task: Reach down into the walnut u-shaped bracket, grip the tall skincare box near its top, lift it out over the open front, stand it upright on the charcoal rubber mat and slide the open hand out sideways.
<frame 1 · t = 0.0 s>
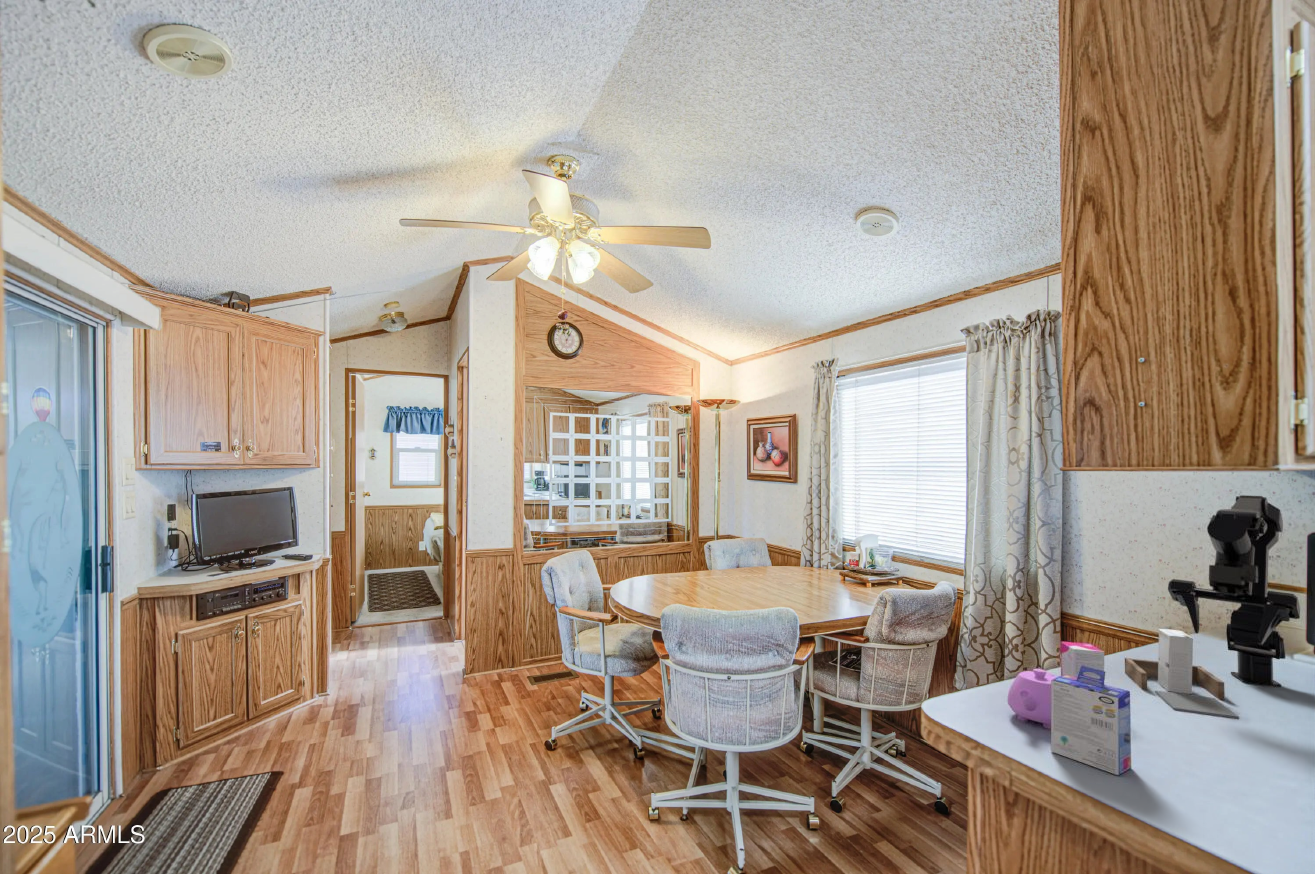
hand: (1227, 637, 118), 15 cm above the kitchen counter, tool tilted 35°, fingers open, 9 cm apart
teapot: (1038, 722, 114), on the kitchen counter
ink cartridge box: (1090, 761, 99), on the kitchen counter
charcoal mat: (1194, 704, 123), on the kitchen counter
skincare box: (1175, 689, 132), on the kitchen counter
supplement box: (1082, 703, 123), on the kitchen counter
walnut u-shaped bracket: (1175, 688, 132), on the kitchen counter
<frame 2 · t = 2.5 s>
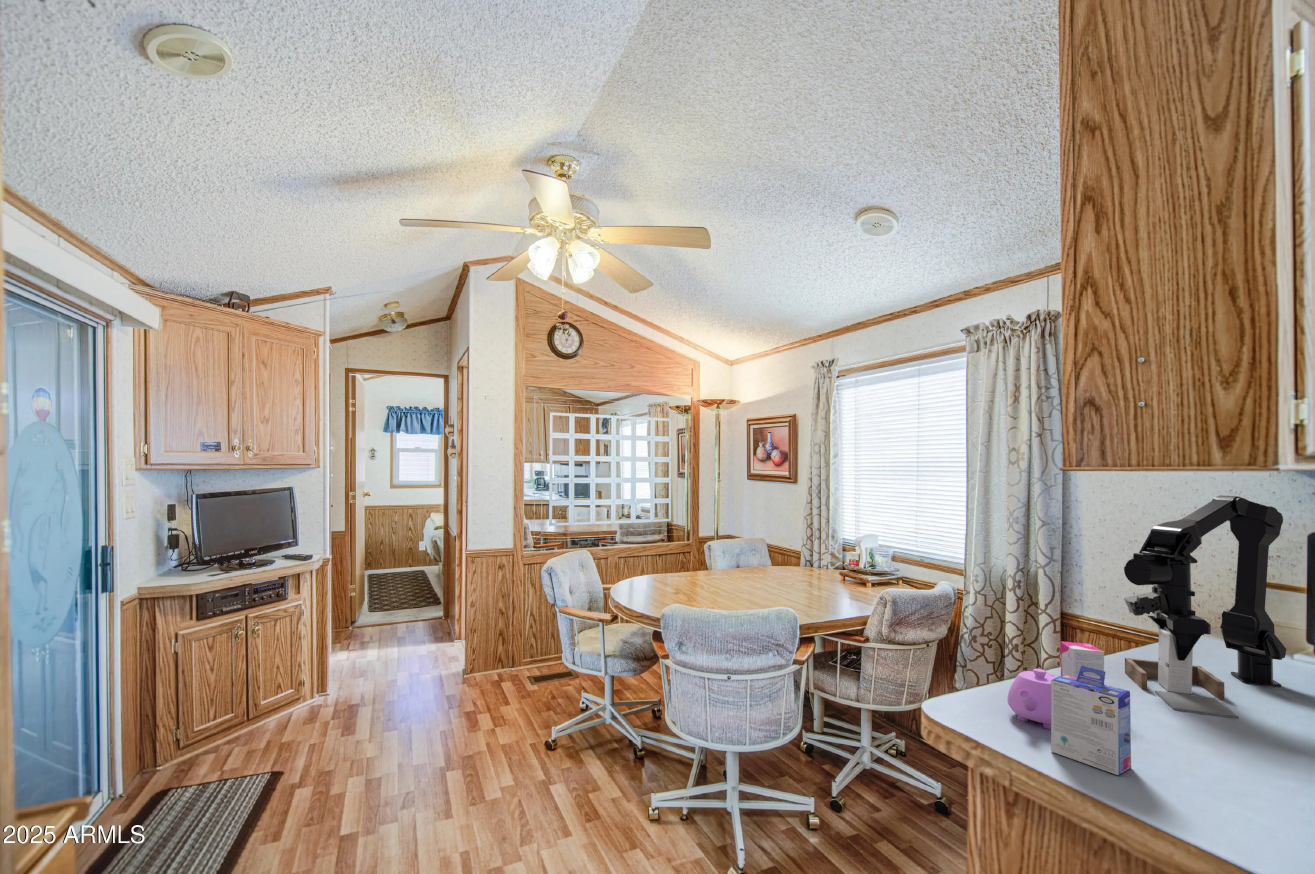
hand: (1175, 655, 132), 7 cm above the kitchen counter, tool pointing down, fingers closed on skincare box, 6 cm apart
skincare box: (1175, 689, 132), on the kitchen counter, touching gripper
everything else where it was.
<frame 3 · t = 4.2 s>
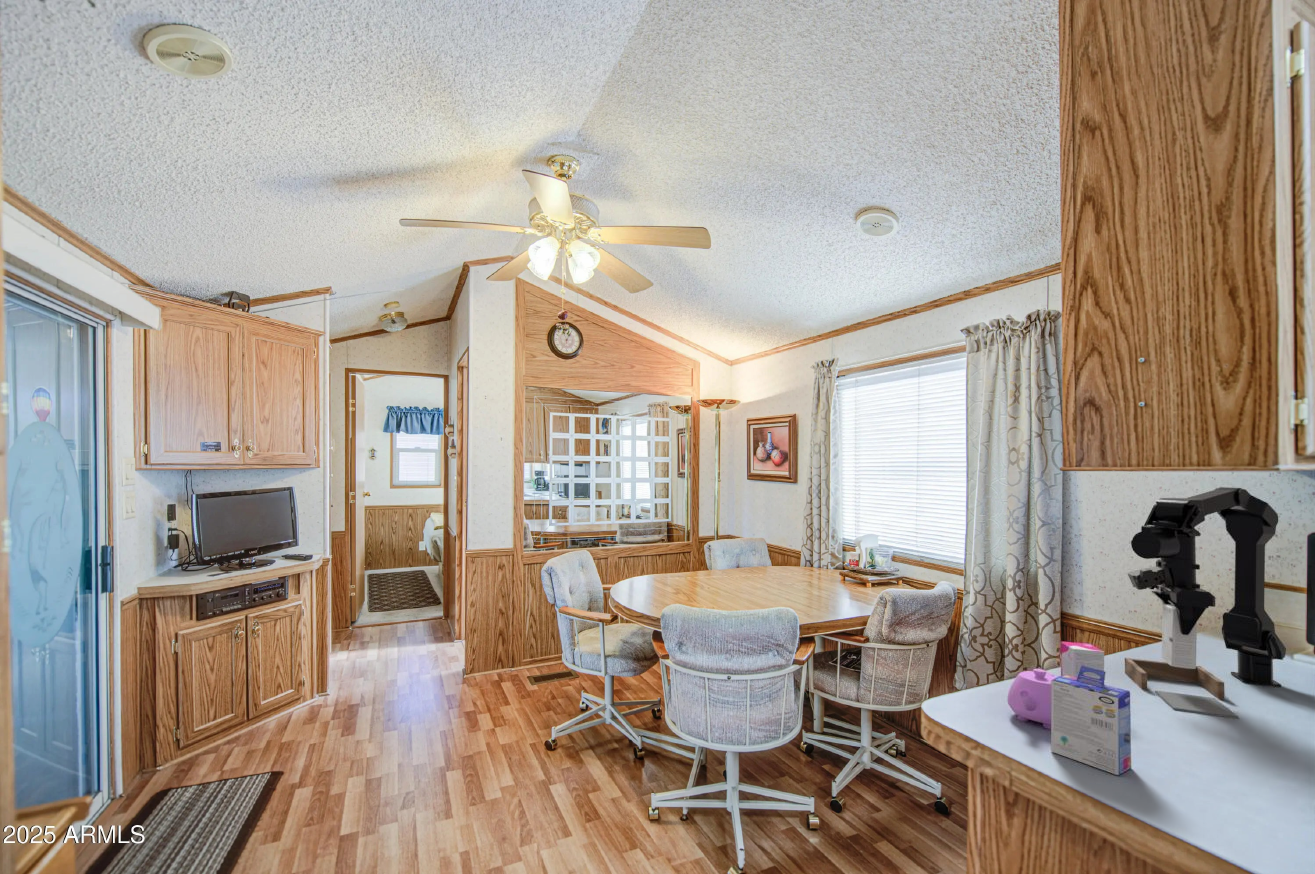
hand: (1179, 630, 129), 13 cm above the kitchen counter, tool pointing down, fingers closed on skincare box, 6 cm apart
skincare box: (1179, 665, 129), point 6 cm above the kitchen counter, touching gripper
everything else where it was.
when the fingers open (8 cm above the kitchen counter, at t = 6.3 s): skincare box stays where it is, resting on charcoal mat.
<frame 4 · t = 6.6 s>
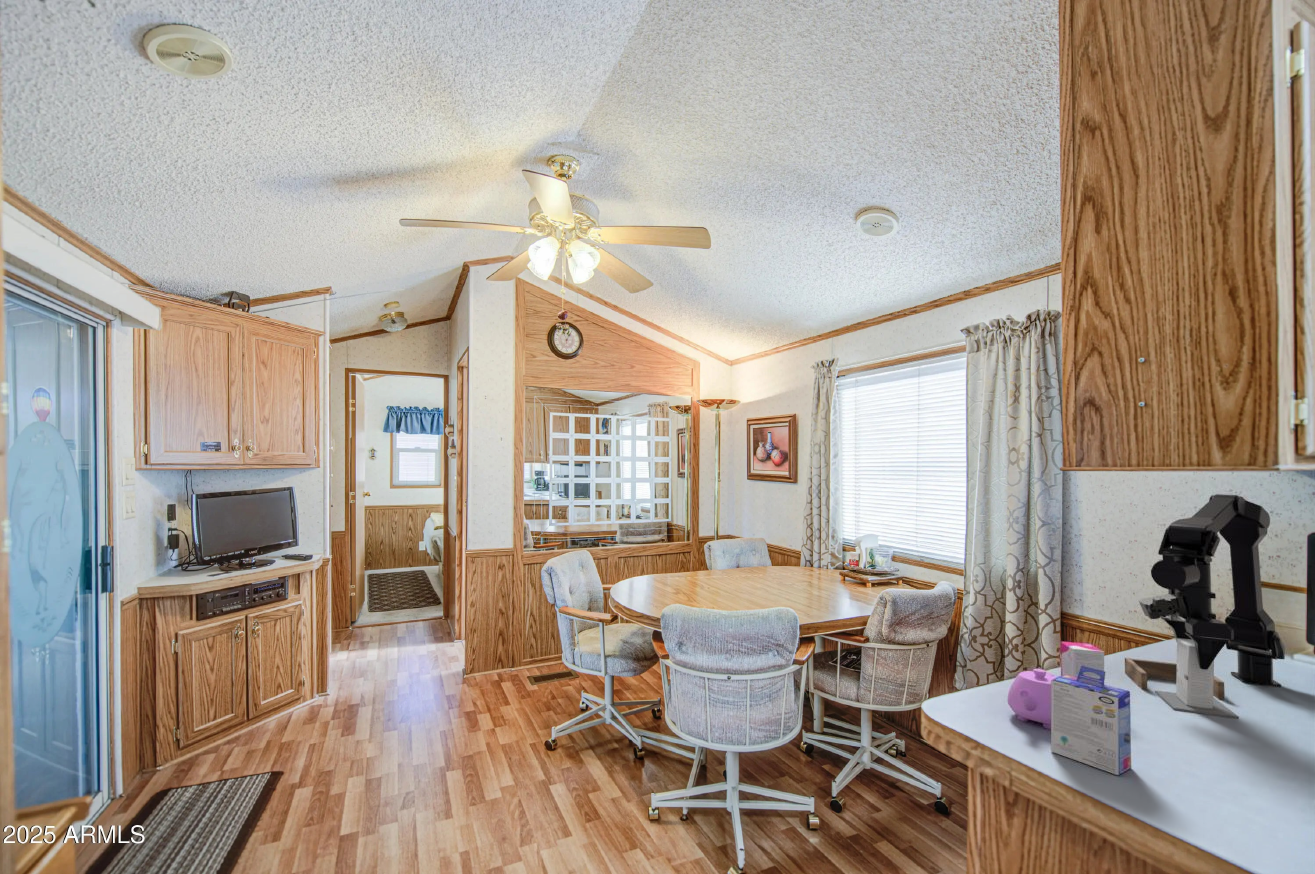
hand: (1193, 662, 123), 8 cm above the kitchen counter, tool pointing down, fingers open, 9 cm apart
skincare box: (1195, 703, 123), resting on charcoal mat
everything else where it was.
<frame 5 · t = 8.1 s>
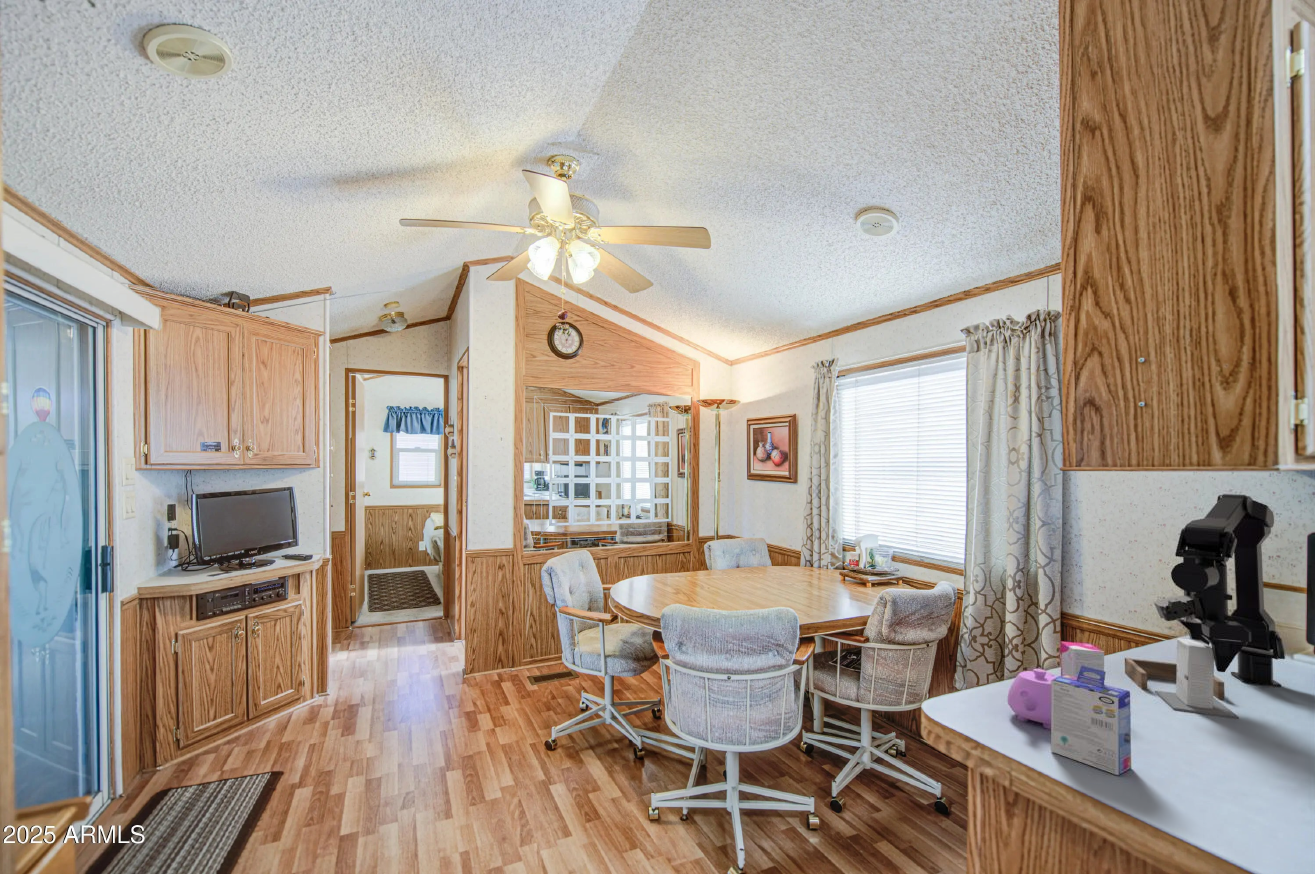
hand: (1210, 664, 122), 8 cm above the kitchen counter, tool pointing down, fingers open, 9 cm apart
nothing on the kitchen counter moved.
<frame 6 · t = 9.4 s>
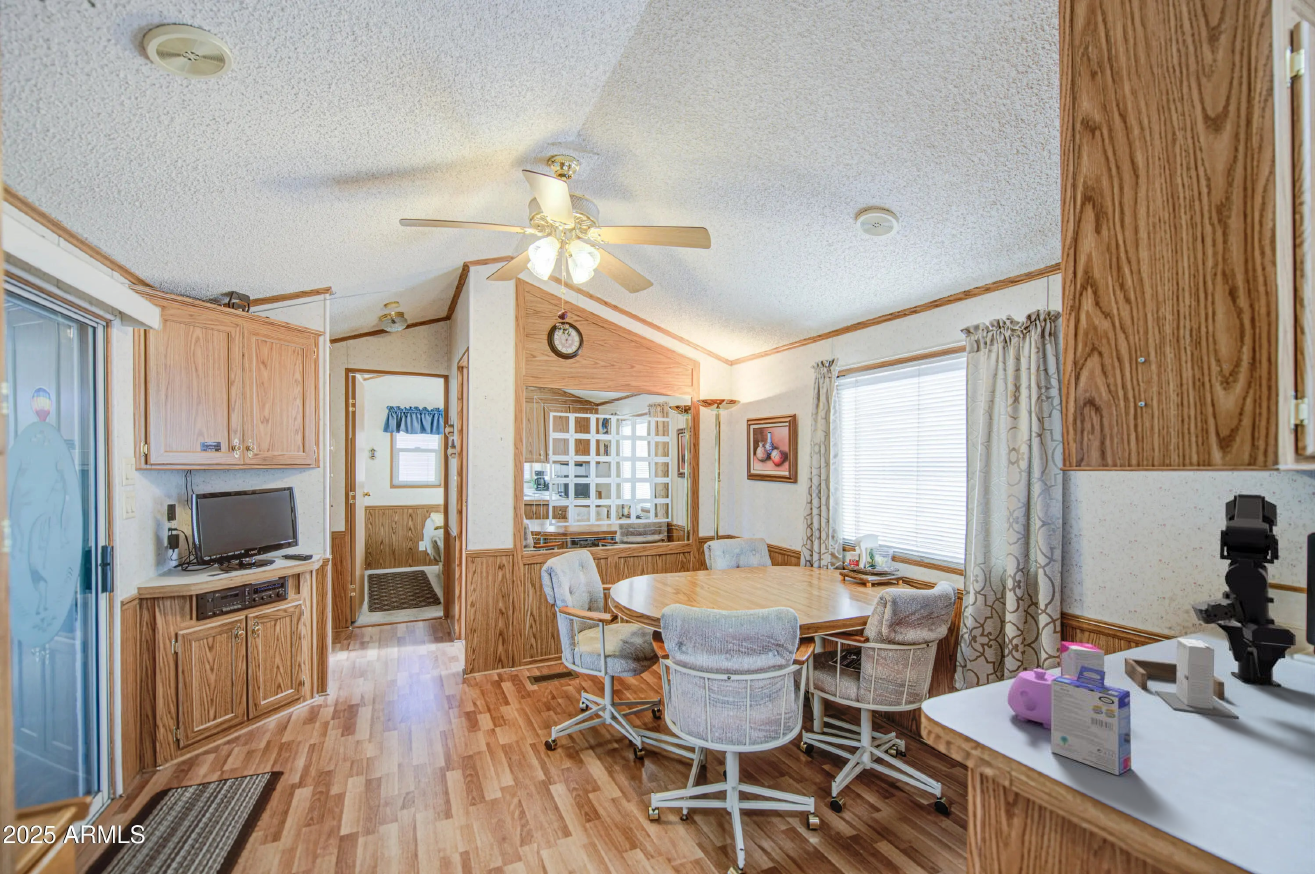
hand: (1250, 668, 120), 8 cm above the kitchen counter, tool pointing down, fingers open, 9 cm apart
nothing on the kitchen counter moved.
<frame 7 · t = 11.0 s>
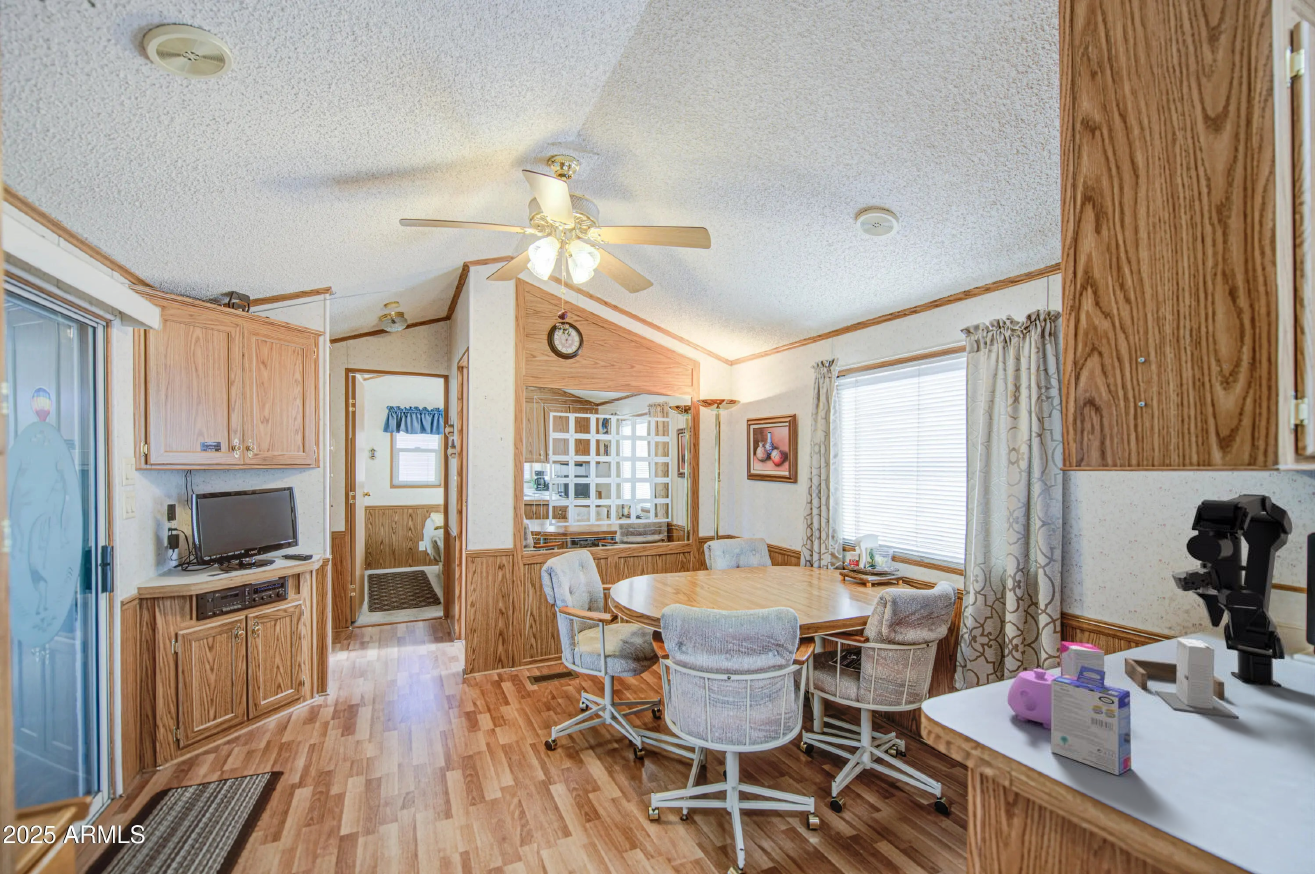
hand: (1225, 632, 129), 13 cm above the kitchen counter, tool pointing down, fingers open, 9 cm apart
nothing on the kitchen counter moved.
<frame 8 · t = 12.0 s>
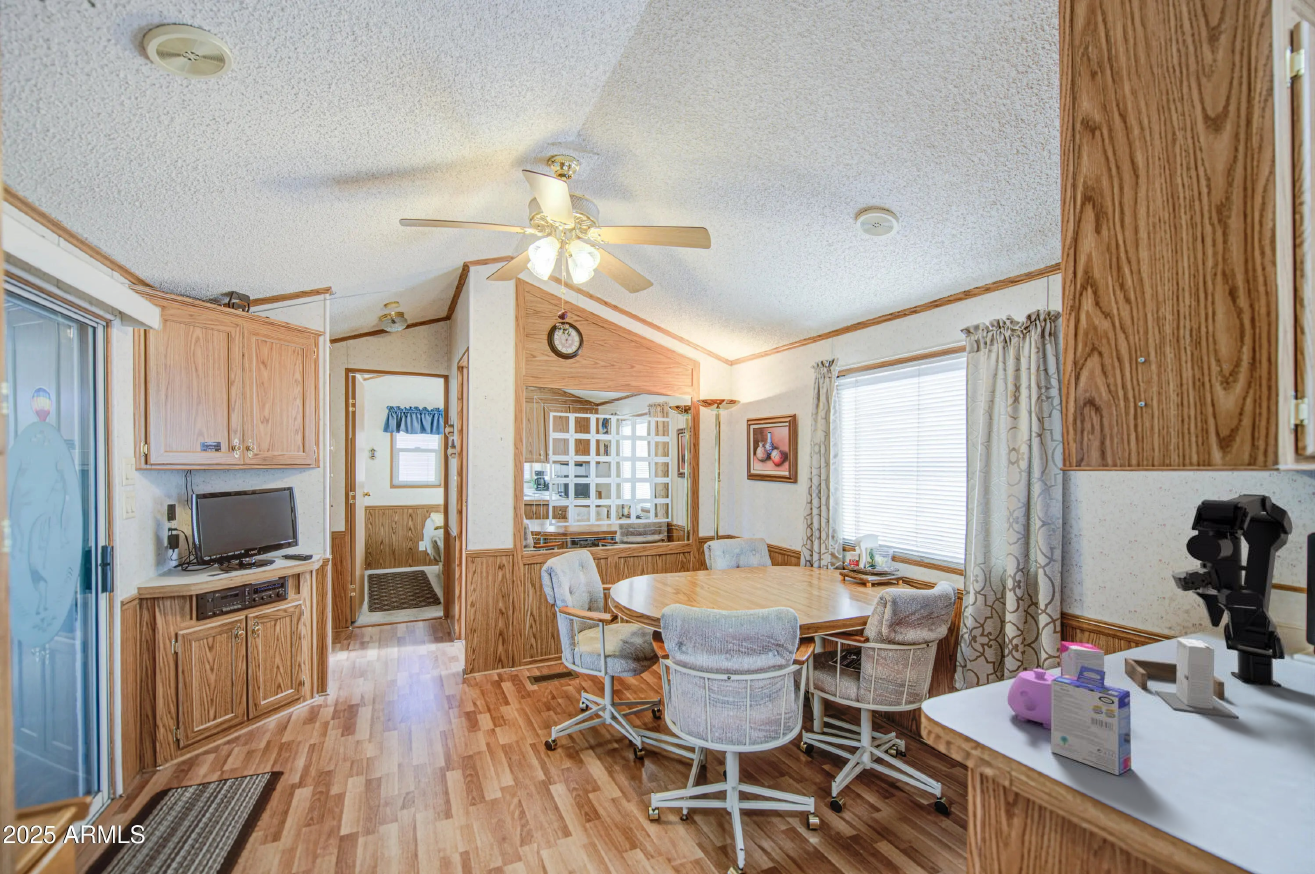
hand: (1225, 631, 129), 13 cm above the kitchen counter, tool pointing down, fingers open, 9 cm apart
nothing on the kitchen counter moved.
at the end: skincare box inside the target area (0.1 cm from its centre), resting on charcoal mat; skincare box tilted 0°; the gripper is holding nothing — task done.
